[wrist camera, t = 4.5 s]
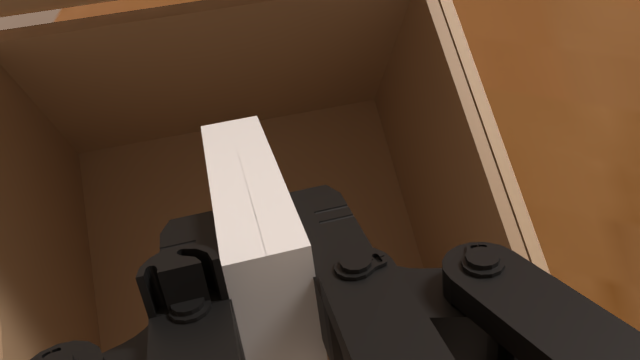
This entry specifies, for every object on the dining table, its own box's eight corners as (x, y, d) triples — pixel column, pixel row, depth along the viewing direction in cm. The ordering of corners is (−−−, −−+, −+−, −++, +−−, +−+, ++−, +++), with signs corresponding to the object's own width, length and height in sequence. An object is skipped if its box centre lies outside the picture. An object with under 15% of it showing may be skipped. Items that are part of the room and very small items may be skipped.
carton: (387, 90, 42) (438, -38, 29) (474, 380, 36) (589, 384, 23) (60, 149, 39) (-49, 33, 26) (95, 480, 33) (-26, 551, 20)
